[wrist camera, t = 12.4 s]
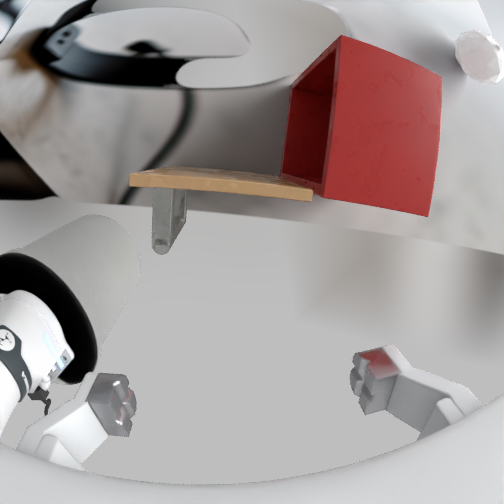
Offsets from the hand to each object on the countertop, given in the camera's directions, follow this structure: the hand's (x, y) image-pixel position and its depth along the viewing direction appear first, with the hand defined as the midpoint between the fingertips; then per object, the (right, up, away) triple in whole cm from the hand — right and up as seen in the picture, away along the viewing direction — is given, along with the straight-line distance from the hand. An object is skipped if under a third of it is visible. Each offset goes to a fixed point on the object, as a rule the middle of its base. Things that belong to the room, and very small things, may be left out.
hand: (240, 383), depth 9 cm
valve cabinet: (+9, +18, +22) cm, 30 cm away
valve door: (-3, +11, +23) cm, 26 cm away
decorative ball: (+34, +36, +18) cm, 53 cm away
